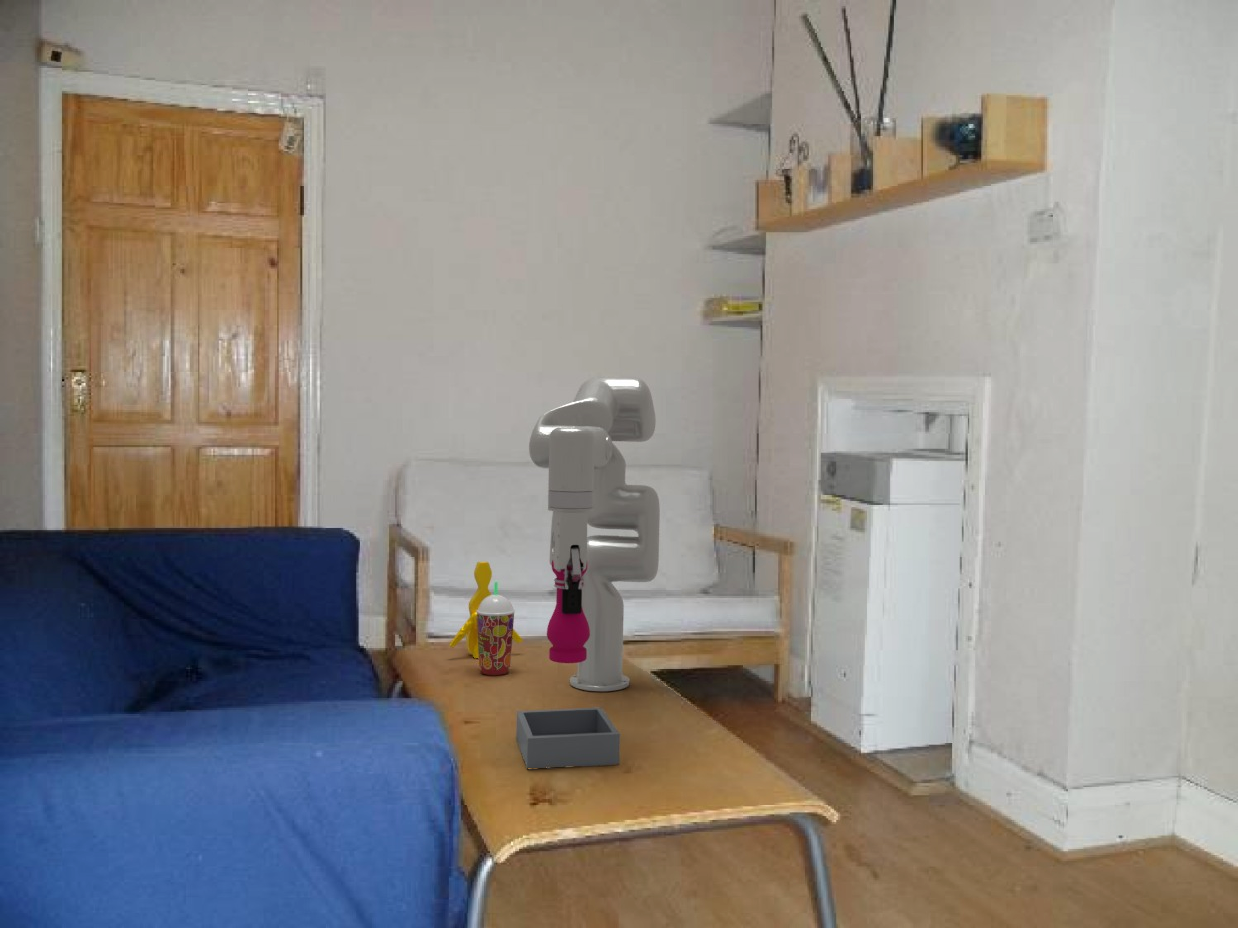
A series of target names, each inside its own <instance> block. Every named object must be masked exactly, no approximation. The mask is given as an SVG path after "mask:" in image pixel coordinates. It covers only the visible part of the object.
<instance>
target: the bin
mask: <svg viewBox="0 0 1238 928" xmlns="http://www.w3.org/2000/svg"><path fill="white" fill-rule="evenodd" d="M515 731H516V733H515V734H516V736H515V739H517V740H516V742H518V743H517V745H519V746H518V748H519V747H520V748H519V751H520V750H521V751H520V754H521V753H522V754H521V756H523V757H522V759H523V758H524V760H523V762H524V761H525V762H524V764H526V765H525V767H527V768H546V767H547V769H549V768H548V767H565V768H567V767H566V766H582V767H598V766H599V765H600V766H613V765H614V766H615V765H617V764H618V765H620V751H621V750H620V749H621V747H620V746H621V745H620V743H621V742H620V741H621V739H620V738H621V733H620V732H619V731H618V729H617V728H616V726H615V725H614V724H613V722H612V721H611V719H610V717H608V715H607V713H606V712H605V710H604V708H602V707H587V708H585V707H581V708H557V709H556V708H555V709H539V710H538V709H537V710H533V709H532V710H517V711H516V730H515ZM527 768H526V769H527Z"/></svg>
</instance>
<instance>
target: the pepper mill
mask: <svg viewBox="0 0 1238 928" xmlns="http://www.w3.org/2000/svg"><path fill="white" fill-rule="evenodd" d="M582 566H583V563H582V562H581V567H582ZM587 566H588V565H587V564H586V569H585V570H584V571H581V583H582V588H583V587H584V583H583V582H584V579H583V578H582V576H583V575H584V574H585V572H586V571H587ZM567 570H572V566H569V567H567ZM581 570H583V568H581ZM551 571H552V572H553V573H554V574H555V578H554V584H553V586H554V588H556V598H557V603H556V602H555V607H554V610H553V613H552V615H551V617H550V619H549V621H548V624H547V626H546V627H547V628H546V638H547V639H548V641H549V642H550V644H551V647H549V650H548V654H549V656H548V657H549V660H550V661H552V662H555V663H558V664H578V663H579V662H583V661H585V660H586V659H587V649H586V648H585V647H583V646H584V644H585V643H586V642H587V641H588V639H589V637H590V628H589V624H588V621H587V619H586V617H585V614H584V612H583V609H582V611H581V613H580V614H563V613H562V589H564V569H561V572H558V571H557V570H556V569H555V568H554V562H553V560H552V566H551ZM568 577H569V575H568ZM582 588H581V589H582Z"/></svg>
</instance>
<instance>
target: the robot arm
mask: <svg viewBox="0 0 1238 928" xmlns="http://www.w3.org/2000/svg"><path fill="white" fill-rule="evenodd" d="M574 397H575V398H574V400H573V401H571V402H568V403H566V404H564V405H561V406H559V407H555V408H552V409H550V410H548V411H546V412H545V413H543V414H542V415H541V416H539V418H538V420H537V421H536V423H535V425H534V427H533V429H532V431H531V434H530V439H529V443H528V444H529V445H528V451H529V452H528V453H529V456H530V459H531V461H532V462H533V464H534V465H535V466H537V467H538V468H541V469H548V483H547V485H548V487H547V489H548V491H547V492H548V495H547V502H548V503H547V510H548V511H550V512H552V516H551V526H550V527H551V528H550V547H549V548H550V549H549V564H550V566H551V567H552V560H553V562H554V568H555V569H556V570H557V571H558V572H561V569H564V589H562V613H563V614H580V613H581V611H582V609H583V612H584V614H585V617H586V619H587V621H588V624H589V628H590V637H589V639H588V641H587V642H586V643H585V644H584V646H583V647H585V648H586V649H587V659H586V660H585V661H583V662H579V663H577V673H576V674H573V675H571V677H570V678H569V684H570V686H572V687H573V688H576V689H578V690H581V691H583V690H584V691H588V692H614V691H620V690H623V689H625V688H627V687H629V686H630V678H629V677H628V676H626V675H625V674H623V659H624V658H623V656H624V655H623V651H624V615H625V614H624V610H625V609H624V608H625V604H624V600H623V598H622V596H621V594H620V592H619V590H617V588H616V586H615V585H614V583H615V582H625V583H626V582H627V583H649V582H652V581H653V580H654V579H655V578H656V576H657V574H658V570H659V560H660V559H659V557H660V554H659V553H660V521H661V520H660V515H661V514H660V511H661V510H660V499H659V495H658V492H657V491H656V490H655V489H654V488H653V487H652V486H649V485H643V484H627V483H626V467H627V465H626V464H627V463H626V460H625V458H624V455H623V454H622V452H621V451H620V450H619V448H618V447H617V446H616V445H615V444H614V443H613V442H629V443H631V442H632V443H633V442H634V443H635V442H636V443H639V442H640V443H641V442H647V441H648V440H650V439H651V438H652V437H653V435H654V433H655V431H656V429H655V428H656V422H657V421H656V412H655V407H654V403H653V402H654V401H653V397H652V393H651V390H650V388H649V386H648V384H647V383H646V381H644V380H642V379H640V378H637V377H614V376H613V377H611V376H610V377H609V376H607V377H605V376H603V377H602V376H600V377H592V378H588V379H587V380H586V381H584V382H583V383H582V384H581V385H580V387H579V388H578V391H577V393H576V394H575V396H574ZM588 526H589V527H592V528H595V529H603V530H604V529H606V530H625V531H626V530H627V531H635V532H636V533H637V536H628V535H626V536H622V535H621V536H620V535H602V534H601V535H600V534H597V535H595V534H594V535H589V536H588ZM581 562H582V563H583V566H582V567H581ZM586 564H587V565H588V566H587V571H586V572H585V574H584V575H583V576H582V578H583V579H584V582H583V583H584V587H583V588H582V583H581V571H584V570H585V569H586ZM569 566H572V570H567V567H569ZM581 568H583V570H581ZM568 575H569V577H568ZM581 588H582V589H581ZM555 601H556V602H555V604H556V603H557V597H556V600H555Z"/></svg>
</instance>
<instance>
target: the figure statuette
mask: <svg viewBox="0 0 1238 928" xmlns="http://www.w3.org/2000/svg"><path fill="white" fill-rule="evenodd" d="M473 575H474V580H475V582H476V585H477V590H476V591H475V593H474V594H473V595H472V597H471V599H469V602H468V611H469V618H468V619H467V620H466V622H465V623H464V624H463V625H462V626H461V628H460V629H459V630H458V632H457V633H456V635H455V636H454V638H453V639H452V640H451V641H450V643H449V644H448V646H449V647H450V648H451V649H454V648H455V647H456V646H457V645H458V644H459V643H460V642H461V641H462V640H463V639H464V638H465V637H466V638H465V643H466V645H465V646H466V649H467V651H468V654H469V655H470V654H471V655H472V657H474V659H476V658H479V650H478V628H477V613H476V611H477V609H478V608H479V606H480V603H481V602H482V601H483V600H484V599H485V598H486V597H488V596H490V595H492V593H491V592H490V590H489V585H490V582H491V580H492V577H493V572H492V568H491V565H490V563H489V562H488V561H477V563H476V565H475V568H474V572H473ZM523 640H524V639H522V637H521V636H520V634H518V632H517V631H516V630H515V629H514V628H513V636H512V641H514V642H515V643H516V644H520V643H522V642H523Z"/></svg>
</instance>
